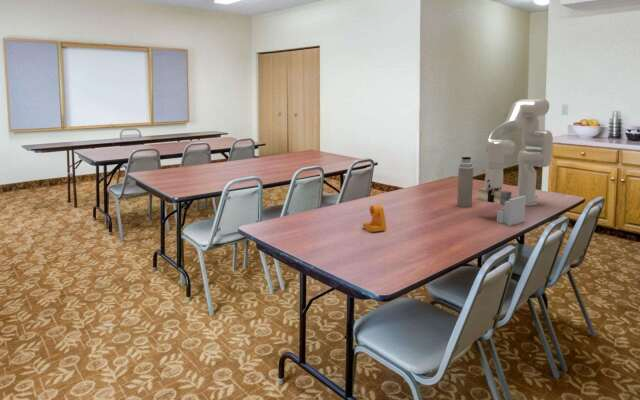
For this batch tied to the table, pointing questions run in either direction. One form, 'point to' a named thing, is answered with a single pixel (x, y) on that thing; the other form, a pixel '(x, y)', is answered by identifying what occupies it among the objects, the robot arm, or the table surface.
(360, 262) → the table surface
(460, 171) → the thermos bottle
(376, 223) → the bracket
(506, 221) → the gray forked clamp
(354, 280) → the table surface
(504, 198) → the tan and gray block
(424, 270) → the table surface
